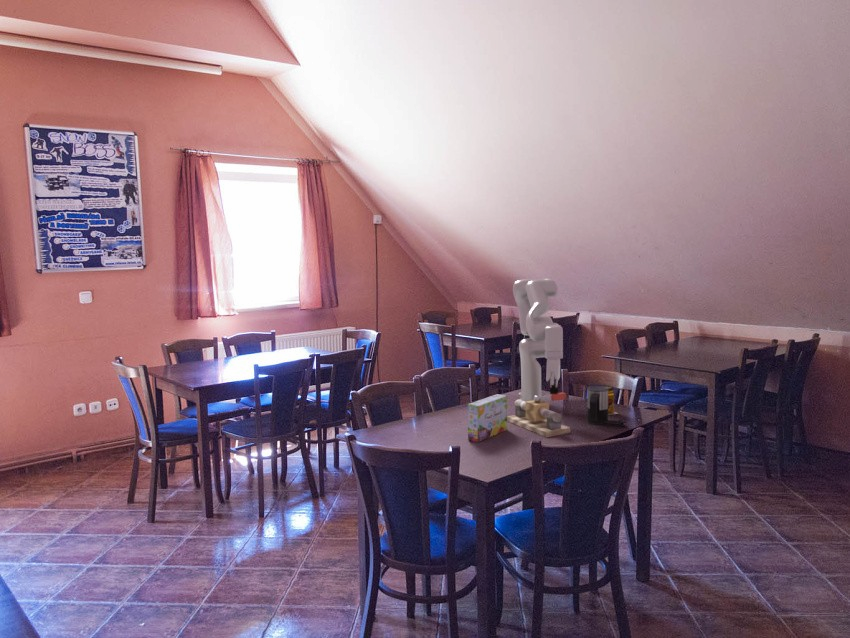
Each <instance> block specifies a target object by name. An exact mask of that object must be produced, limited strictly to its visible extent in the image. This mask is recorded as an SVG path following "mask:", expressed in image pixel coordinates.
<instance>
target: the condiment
mask: <svg viewBox="0 0 850 638" xmlns="http://www.w3.org/2000/svg"><path fill="white" fill-rule="evenodd" d="M602 387H607V388H609V390H608V416H614V415H616V414H617V415H618V414H619V413H618V412H616V411H615V393H614V387H613V386H609V385H605V386H602Z"/></svg>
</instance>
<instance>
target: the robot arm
mask: <svg viewBox="0 0 850 638" xmlns="http://www.w3.org/2000/svg"><path fill="white" fill-rule="evenodd" d="M558 292H559V290H558V285H557V282H556V280H553V279H552V278H551V279H550V278H525V279H523V278H522V279H518V280H516V281H514V283H513V286H512V294H513V298H514V301H515V303H516V305H517V309H518V310H517V311H518V321H519V327H520V333H521V334H522V335H523V336H528V337H527V338H523V339H521V340H520V341H519V343H518V344H519V345H518V350H519V351H518V352H519V357H520V376H521V378H520V379H521V380H520V382H521V383H520V384H521V385H520V386H521V387H520V388H521V391H519V392H518V396H520V398H519V400H522V401H525V402H527V401H533V400H534V396H535V395H539V396H542V366H541V364H540V363H539V361H537V359H539V358H545V359H546V377H545V378H546V379H545V380H546V381H545V382H549V384H550V385H549V395H550V394H552V393H559V385H558V384H559V383H558V381H559V380H560V377H561V359H563V358H564V342H563V341H564V339H563V338H564V331H563V327H562V326H560V324H559V323H557V322H554V321H553V320H552V317H550V316H549V315H545V313H547V312H548V311H549V310H550V308H551V304H550V301H549V298H555V297H556V296H557V295H558Z"/></svg>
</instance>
